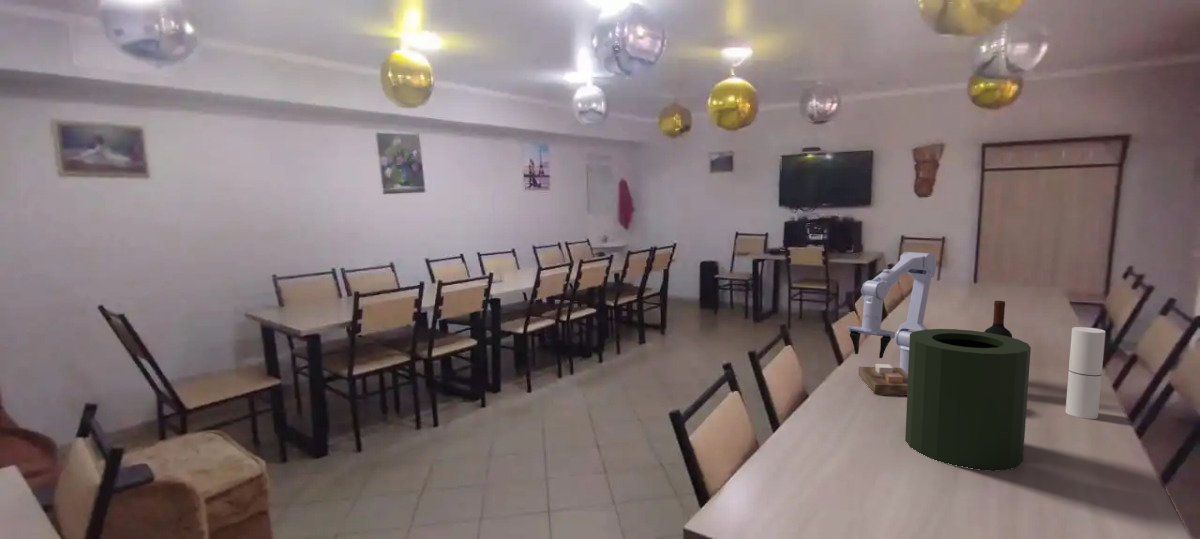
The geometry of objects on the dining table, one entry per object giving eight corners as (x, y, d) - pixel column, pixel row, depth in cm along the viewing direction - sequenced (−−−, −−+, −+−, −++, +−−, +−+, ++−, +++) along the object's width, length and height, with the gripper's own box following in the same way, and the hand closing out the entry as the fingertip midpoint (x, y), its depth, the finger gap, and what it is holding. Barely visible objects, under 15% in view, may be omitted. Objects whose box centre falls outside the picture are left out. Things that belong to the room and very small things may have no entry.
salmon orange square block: (898, 382, 185) (898, 372, 185) (902, 386, 181) (903, 376, 180) (884, 381, 186) (884, 372, 185) (888, 385, 182) (888, 376, 181)
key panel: (900, 377, 197) (900, 367, 196) (921, 396, 177) (922, 386, 177) (858, 375, 199) (858, 366, 199) (874, 394, 180) (875, 384, 180)
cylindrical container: (1069, 416, 159) (1076, 331, 156) (1062, 408, 165) (1068, 326, 162) (1101, 420, 155) (1109, 333, 152) (1093, 411, 162) (1100, 328, 159)
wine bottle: (999, 388, 183) (1005, 299, 179) (1014, 396, 175) (1020, 303, 172) (975, 388, 184) (980, 299, 180) (988, 396, 176) (994, 303, 173)
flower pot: (966, 477, 126) (973, 358, 122) (882, 434, 150) (886, 333, 147) (1049, 461, 132) (1058, 347, 129) (956, 422, 156) (961, 325, 153)
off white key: (888, 373, 195) (889, 364, 194) (892, 376, 190) (893, 367, 190) (875, 372, 196) (875, 363, 195) (879, 376, 191) (879, 367, 191)
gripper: (846, 314, 188) (842, 353, 189) (893, 320, 179) (889, 361, 180) (851, 312, 194) (848, 350, 195) (897, 318, 185) (894, 358, 186)
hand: (868, 355), depth 188 cm, fingers open, 7 cm apart
